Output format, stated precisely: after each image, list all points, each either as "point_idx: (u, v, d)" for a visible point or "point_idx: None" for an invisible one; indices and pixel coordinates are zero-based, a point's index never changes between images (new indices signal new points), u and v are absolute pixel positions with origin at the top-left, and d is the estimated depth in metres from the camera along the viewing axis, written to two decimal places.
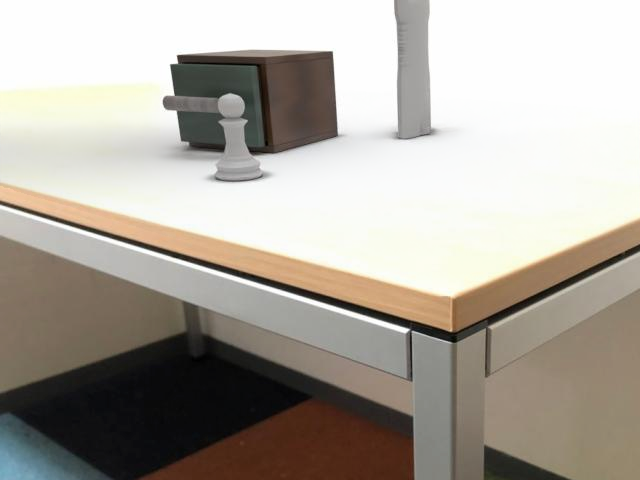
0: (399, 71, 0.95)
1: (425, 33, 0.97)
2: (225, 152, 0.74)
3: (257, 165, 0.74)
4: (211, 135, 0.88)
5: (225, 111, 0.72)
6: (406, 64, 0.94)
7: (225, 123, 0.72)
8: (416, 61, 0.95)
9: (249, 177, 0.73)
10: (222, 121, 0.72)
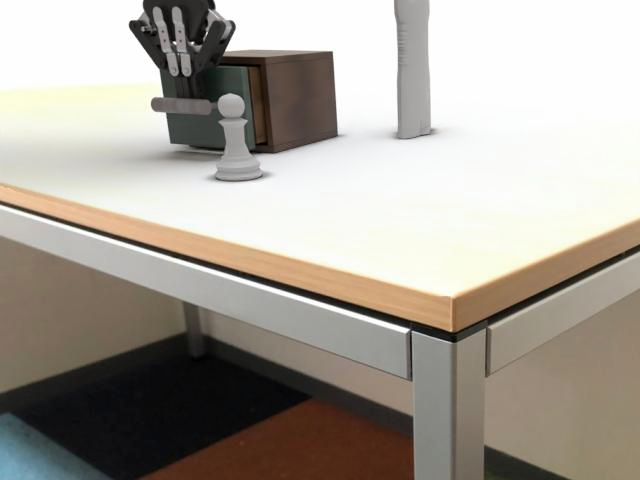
0: (399, 71, 0.95)
1: (425, 33, 0.97)
2: (225, 152, 0.74)
3: (257, 165, 0.74)
4: (201, 137, 0.86)
5: (225, 111, 0.72)
6: (406, 64, 0.94)
7: (225, 123, 0.72)
8: (416, 61, 0.95)
9: (249, 177, 0.73)
10: (222, 121, 0.72)
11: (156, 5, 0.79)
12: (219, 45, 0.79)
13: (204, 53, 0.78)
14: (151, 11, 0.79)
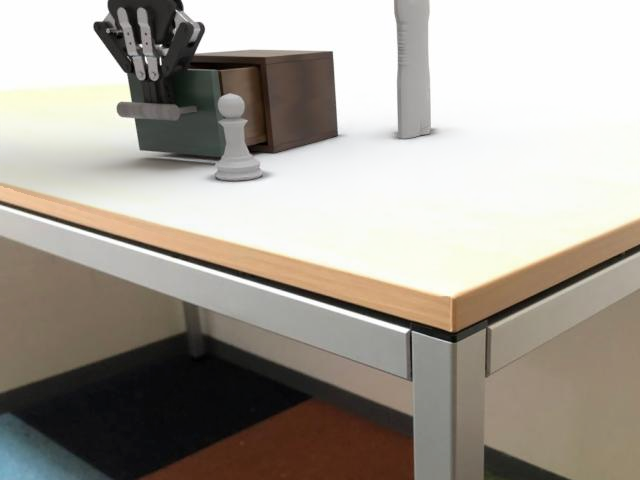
0: (399, 71, 0.95)
1: (425, 33, 0.97)
2: (225, 152, 0.74)
3: (257, 165, 0.74)
4: (171, 144, 0.82)
5: (225, 111, 0.72)
6: (406, 64, 0.94)
7: (225, 123, 0.72)
8: (416, 61, 0.95)
9: (249, 177, 0.73)
10: (222, 121, 0.72)
11: (121, 6, 0.74)
12: (187, 48, 0.74)
13: (171, 56, 0.74)
14: (116, 12, 0.75)
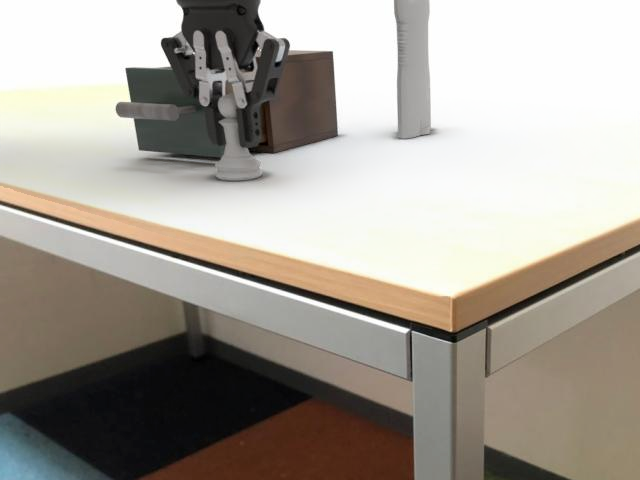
0: (399, 71, 0.95)
1: (425, 33, 0.97)
2: (225, 152, 0.74)
3: (257, 165, 0.74)
4: (170, 144, 0.82)
5: (225, 111, 0.72)
6: (406, 64, 0.94)
7: (225, 123, 0.72)
8: (416, 61, 0.95)
9: (249, 177, 0.73)
10: (222, 121, 0.72)
11: None
12: None
13: None
14: None
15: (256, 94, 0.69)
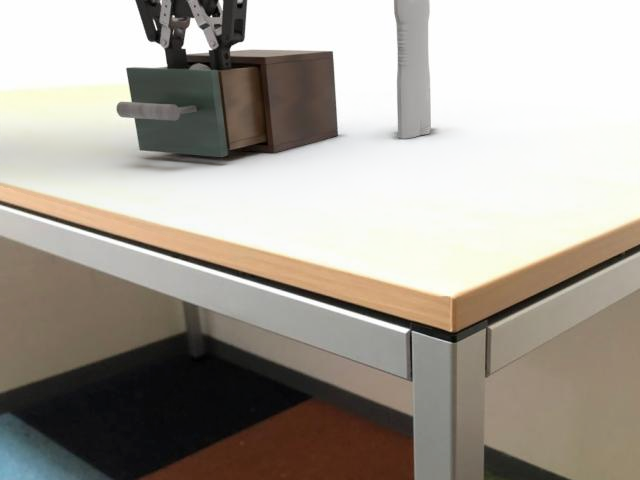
0: (399, 71, 0.95)
1: (425, 33, 0.97)
2: None
3: None
4: (171, 144, 0.82)
5: None
6: (406, 64, 0.94)
7: None
8: (416, 61, 0.95)
9: None
10: None
11: None
12: None
13: None
14: None
15: (226, 35, 0.79)
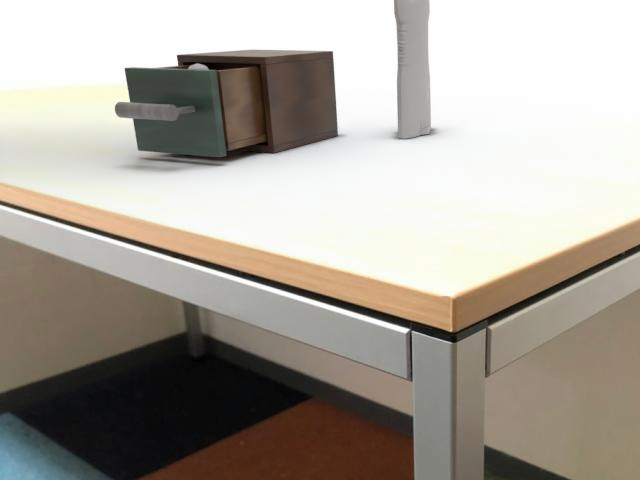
0: (399, 71, 0.95)
1: (425, 33, 0.97)
2: None
3: None
4: (169, 144, 0.82)
5: None
6: (406, 64, 0.94)
7: None
8: (416, 61, 0.95)
9: None
10: None
11: None
12: None
13: None
14: None
15: None
